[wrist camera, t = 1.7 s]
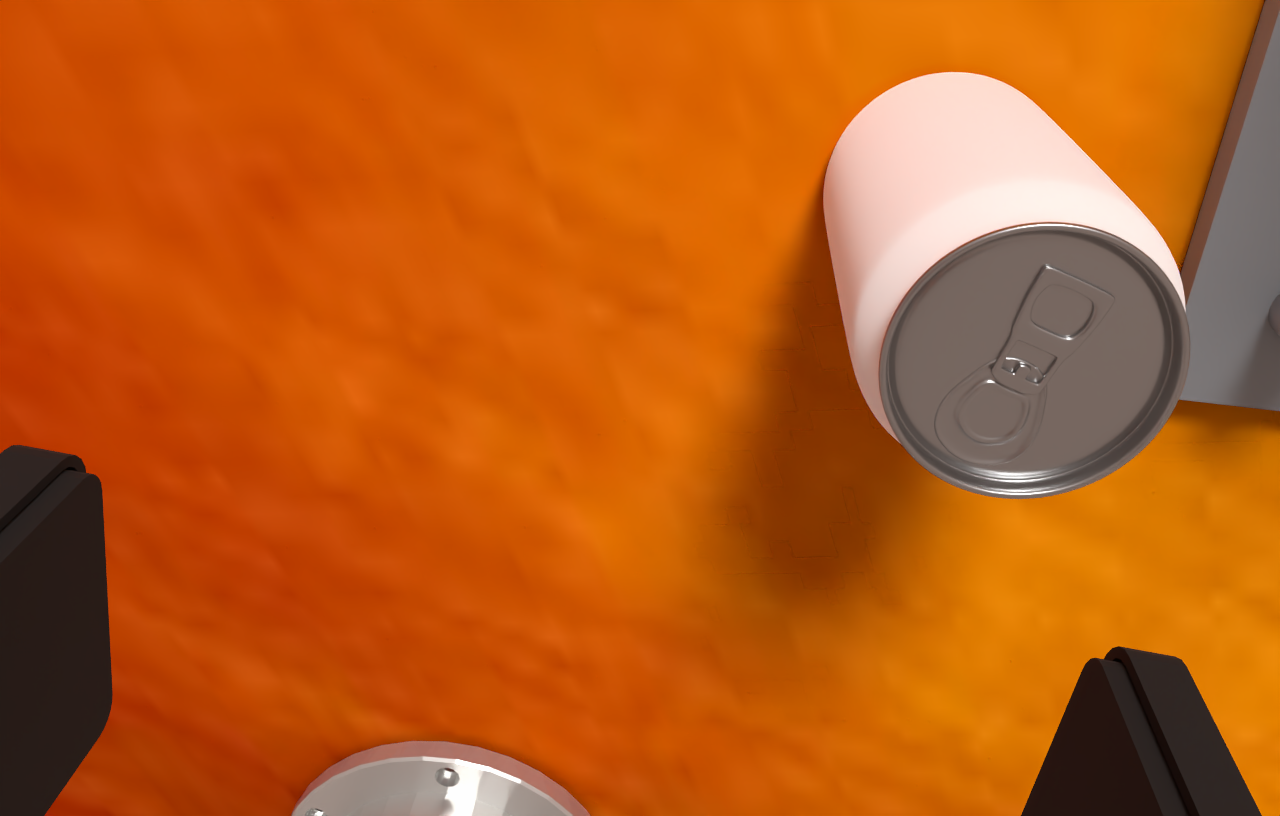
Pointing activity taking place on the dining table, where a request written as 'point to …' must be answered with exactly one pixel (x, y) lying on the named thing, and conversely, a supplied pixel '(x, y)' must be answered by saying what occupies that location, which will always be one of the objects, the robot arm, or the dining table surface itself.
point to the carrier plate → (1240, 245)
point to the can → (999, 291)
